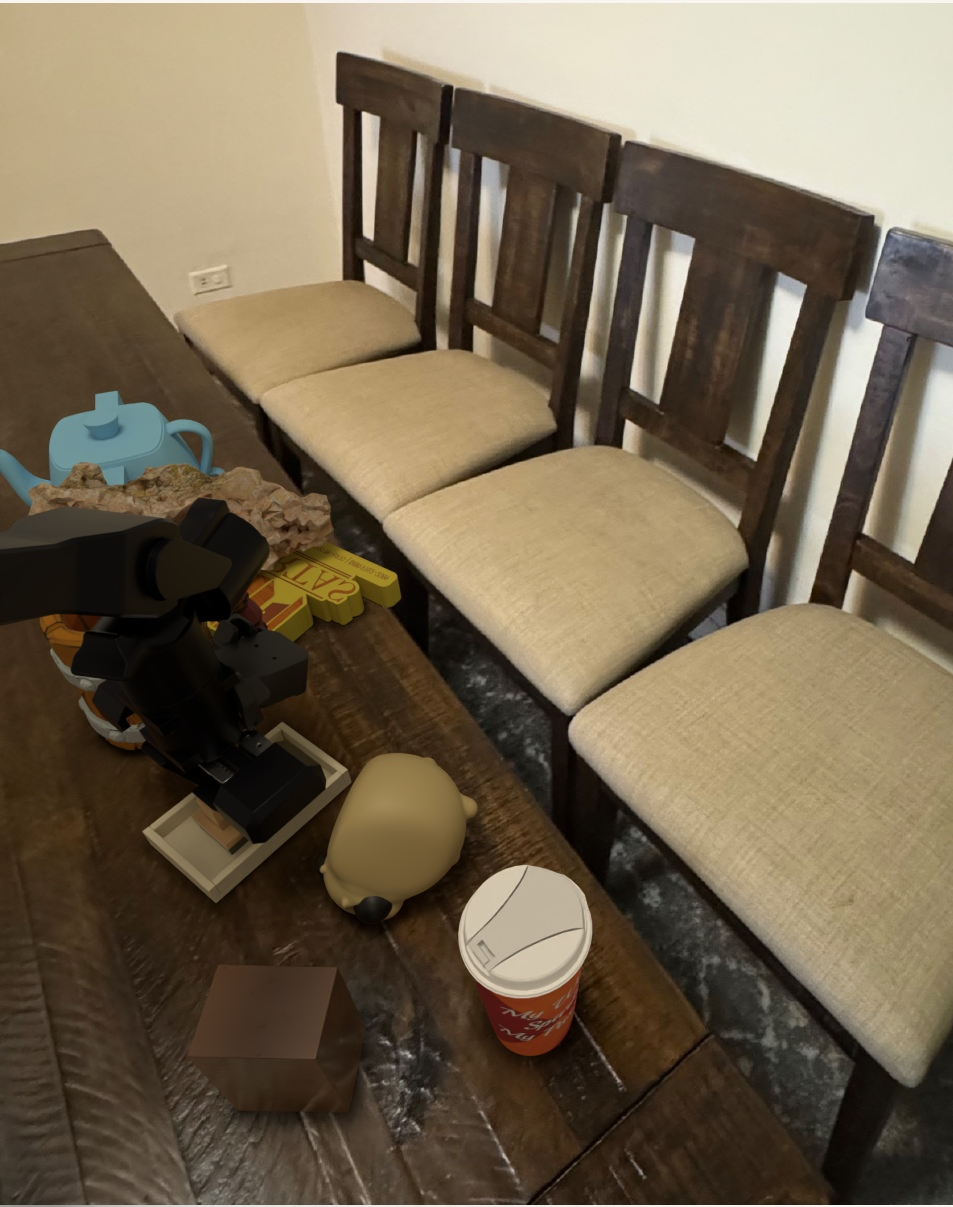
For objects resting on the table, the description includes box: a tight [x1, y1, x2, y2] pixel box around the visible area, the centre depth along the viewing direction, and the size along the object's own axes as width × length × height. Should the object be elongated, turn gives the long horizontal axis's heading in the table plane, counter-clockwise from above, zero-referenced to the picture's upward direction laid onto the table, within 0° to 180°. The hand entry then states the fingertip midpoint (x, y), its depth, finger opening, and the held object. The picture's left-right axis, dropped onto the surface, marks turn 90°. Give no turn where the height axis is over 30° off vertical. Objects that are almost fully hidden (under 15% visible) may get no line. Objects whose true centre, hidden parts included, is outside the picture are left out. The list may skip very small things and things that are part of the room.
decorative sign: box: [206, 541, 402, 643], centre depth 83 cm, size 20×3×15 cm
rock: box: [27, 462, 335, 574], centre depth 79 cm, size 25×8×15 cm, turn 117°
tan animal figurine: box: [316, 752, 479, 925], centre depth 61 cm, size 10×12×11 cm
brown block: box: [186, 963, 367, 1114], centre depth 50 cm, size 7×5×10 cm
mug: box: [38, 592, 268, 751], centre depth 70 cm, size 11×16×15 cm, turn 110°
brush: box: [192, 798, 249, 855], centre depth 65 cm, size 6×4×4 cm
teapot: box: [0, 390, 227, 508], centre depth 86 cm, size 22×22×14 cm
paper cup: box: [457, 864, 593, 1057], centre depth 52 cm, size 8×8×14 cm
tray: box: [142, 721, 352, 904], centre depth 66 cm, size 13×8×2 cm, turn 145°
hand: (240, 802), depth 65 cm, fingers closed on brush, 2 cm apart
